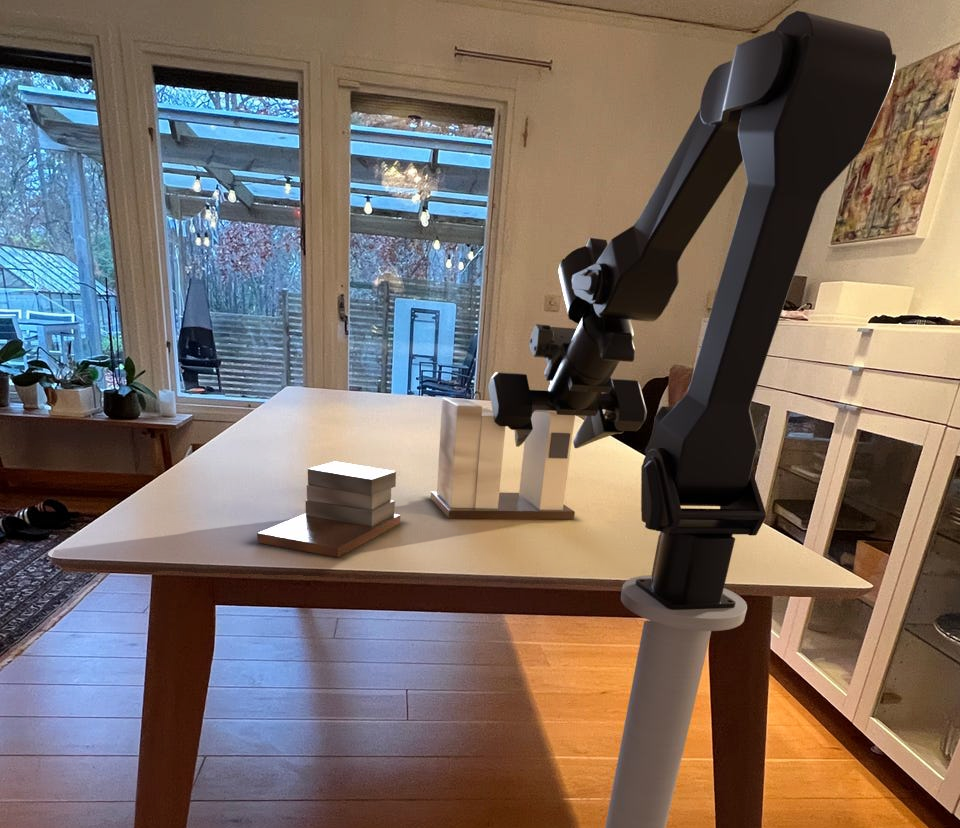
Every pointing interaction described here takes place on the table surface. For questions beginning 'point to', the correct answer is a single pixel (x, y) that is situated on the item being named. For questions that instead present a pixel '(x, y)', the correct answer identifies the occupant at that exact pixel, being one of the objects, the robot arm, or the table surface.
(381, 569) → the table surface
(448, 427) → the brown and white bookend
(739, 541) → the table surface
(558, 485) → the white book
